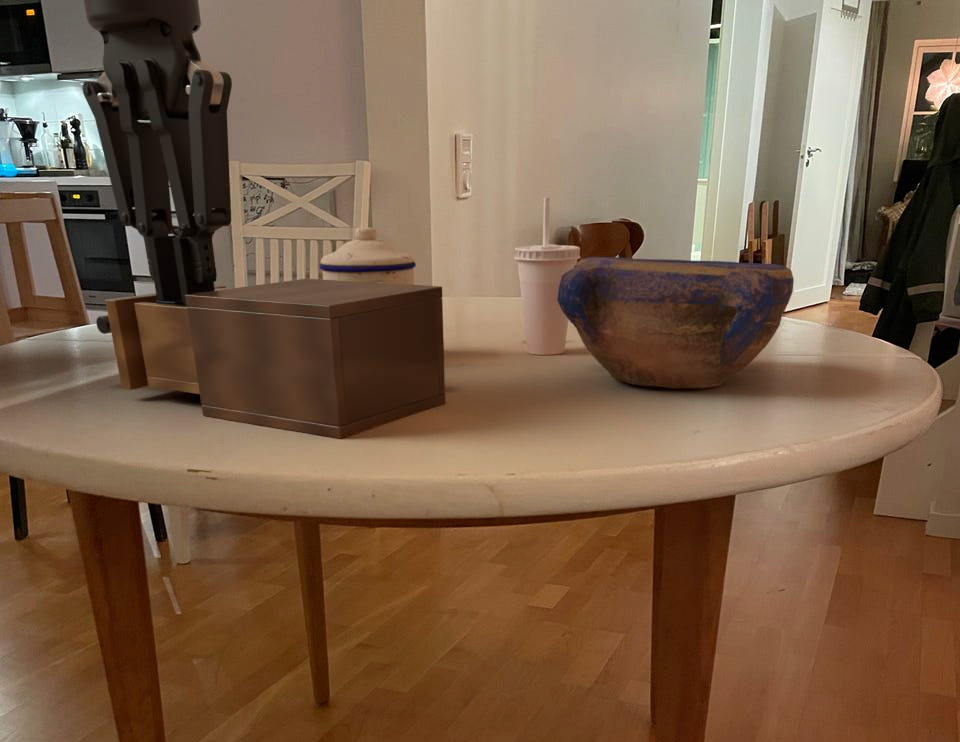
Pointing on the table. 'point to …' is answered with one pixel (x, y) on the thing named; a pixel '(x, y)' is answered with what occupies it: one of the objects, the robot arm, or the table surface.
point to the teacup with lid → (368, 261)
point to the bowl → (674, 316)
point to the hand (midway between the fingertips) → (190, 325)
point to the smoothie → (544, 290)
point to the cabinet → (318, 353)
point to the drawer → (151, 343)
